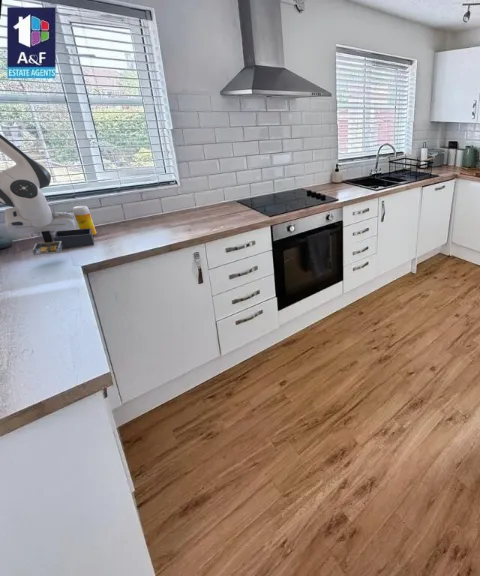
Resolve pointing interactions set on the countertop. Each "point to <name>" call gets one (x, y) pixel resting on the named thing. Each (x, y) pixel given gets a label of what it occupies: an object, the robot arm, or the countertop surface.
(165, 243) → the countertop surface
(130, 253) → the countertop surface
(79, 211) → the glass of beer
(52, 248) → the key
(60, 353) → the countertop surface
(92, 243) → the bin
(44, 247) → the key
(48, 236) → the grey square piece
